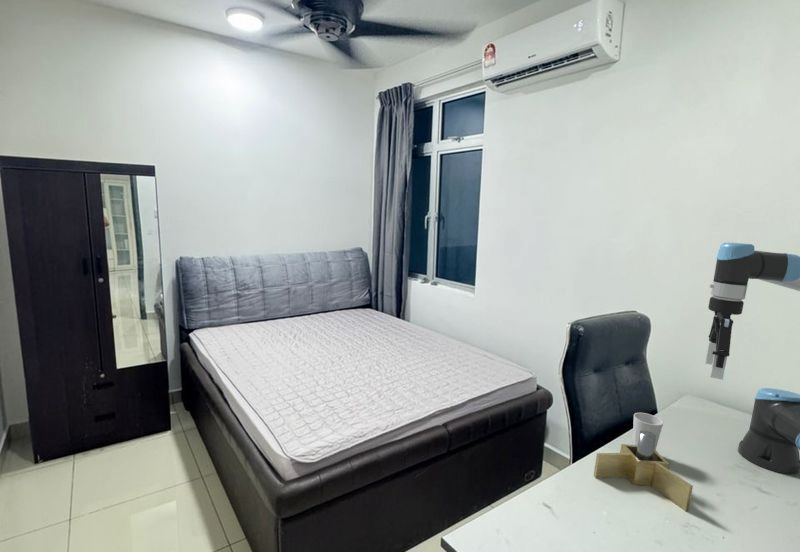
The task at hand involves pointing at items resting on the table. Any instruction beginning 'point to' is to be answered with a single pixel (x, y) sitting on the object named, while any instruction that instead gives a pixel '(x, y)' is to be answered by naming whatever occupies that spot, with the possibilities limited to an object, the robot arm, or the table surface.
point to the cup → (646, 426)
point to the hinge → (644, 473)
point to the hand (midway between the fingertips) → (713, 370)
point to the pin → (645, 446)
